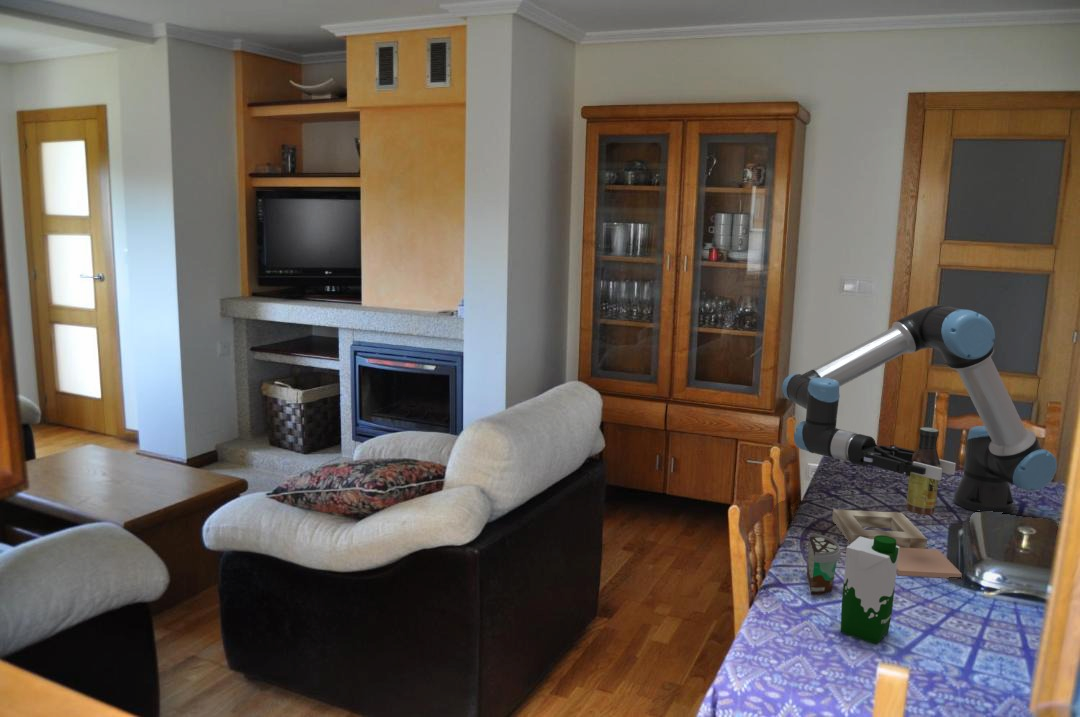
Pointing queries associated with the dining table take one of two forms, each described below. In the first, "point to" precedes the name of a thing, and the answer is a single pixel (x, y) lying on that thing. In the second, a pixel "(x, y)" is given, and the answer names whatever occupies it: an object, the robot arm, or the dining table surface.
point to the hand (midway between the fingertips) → (947, 471)
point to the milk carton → (869, 587)
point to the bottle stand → (900, 526)
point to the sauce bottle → (921, 487)
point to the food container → (821, 563)
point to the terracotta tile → (925, 563)
